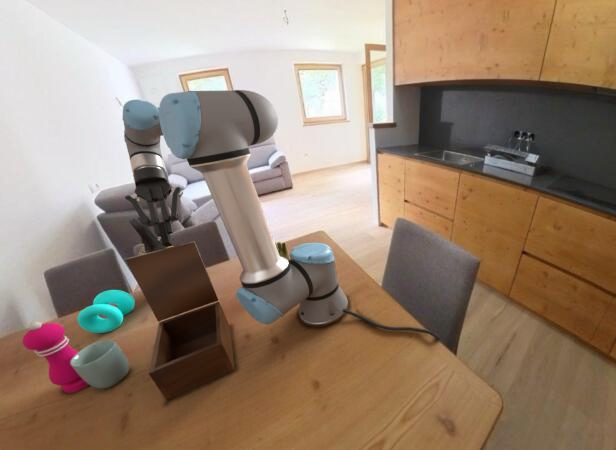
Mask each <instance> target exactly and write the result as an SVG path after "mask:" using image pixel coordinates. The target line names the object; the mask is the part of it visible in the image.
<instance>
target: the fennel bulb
mask: <svg viewBox="0 0 616 450" xmlns="http://www.w3.org/2000/svg"><path fill="white" fill-rule="evenodd" d="M274 242H275V244H276V247H277V250H278V253H279V255H280V257H283V258H286V259H287V260H290V259H291V258H290V254H289V252H288V249H287V245H286V242H285V241H282V242H281V241H278V242H276V241H274Z"/></svg>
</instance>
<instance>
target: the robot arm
mask: <svg viewBox="0 0 616 450" xmlns="http://www.w3.org/2000/svg"><path fill="white" fill-rule="evenodd" d="M122 121H123V126H124V130H123V137H124V142H125V145H126V149H127V153H128V157H129V162H130V167H131V172H132V176H133V181H134V185H135V189H134V193H132V194H131V195H125V196H124V199H125V200H126V201H127V202H128V203H129V204H131V205H132V207H133V209H134V210H135V211H136V213H137V215H138V217H139V218H141V220H142V221H143V223H145V224H146V225H147V226H148V227H149V228H150V227H153V230H154V231H153V232H154V234H155V236H156V237H157V238H160V239H161V240H162V244H163V245H164V246H165V247H169V246H173V245H174V244H173V241H172V237H171V235H172V234H174V232H175V230H174V227H173V223H174V222H178V221H179V220H180V211H181V198H182V196H183V194H184V191H183V189H182V188H181V187H180V186H177V187H175V186H172V184H170V181H169V176H168V173H167V168H166V165H165V161H164V157H163V154H162V149H161V137H162V136H163V139H164V142H165V144H166V145H167V148H168V149H169V150H170V152H171V154H172V155H173V156H174V157H176V158H177V159H182V160H186V161H187V164H188V166H189V168H191V169H193V170H196V171H198V172H200V173H201V174H202V176H203V179H204V181H205V183H206V186H207V188H208V190H209V193H210V195H211V197H212V200H213V203H214V204H215V207H216V209H217V211H218V214H219V216H220V218H221V221H222V224H223V225H224V228H225V230H226V232H227V234H228V237H229V239H230V242H231V244H232V246H233V248H234V251H235V253H236V256H237V258H238V260H239V263H240V265H241V268H242V271H241V273H240V275H239V281H240V283H241V286H240V287H239V288H238V289H237V290H236V291H235V294H236V295H235V297H236V299H237V300H238V302H239V303H240V305H241V306H242V308H243V309H244V310H245V311H246V312H247V313H248V314H249V315H250V316H251V317H252V318H253V319H254V320H256V321H257V322H258V323H261V324H263V325H271V324H273V323H274V322H276V321H277V320H278V319H280V318H283V317H284V316H285V315H286V314H287V313H289V312H290V311H291V310H293V309H294V308H295V307H297V306H298V314H299V318H300V321H301V322H302V323H303V324H304V325H307V326H309V327H313V328H321V327H327V326H330V325H333V324H334V323H337V322H338V321H339V320H341V319H342V318H343V317H344V315H346V314H348V315H350V316H352V317H356V318H357V319H359V320H362V321H364V322H366V323H368V324H370V325H371V326H374V327H376V328H380V329H383V330H387V331H411V332H417V333H423V334H428V335H430V336H432V337H433V338H435V339H436V340H437V341H441V340H442V338H441V337H440V336H439V335H438V334H437V333H435V332H434V331H432V330H429V329H424V328H420V327H414V326H413V327H412V326H387V325H383V324H380V323H377V322H376V321H373V320H371V319H369V318H367V317H365V316H363V315H361V314H358V313H356V312H354V311H351V310H349V302H348V301H349V300H348V297H347V295H346V293H345V292H344V291H343V289H342V287H341V286H340V284H339V278H338V273H337V266H336V258H335V255H334V253H333V252H334V251H333V249H332V248H331V247H330V246H329V245H328V244H326V243H323V242H306V243H301V244H299V245H297V246H294V247H293V248H292V249H291V250H290V252H289V259H290V260H287V259H286V258H283V257H280V255H279V253H278V250H279V249H278V250H277V247H278V246H277V247H276V244H277V243H276V244H275V242H276V241H275V239H274V236H273V234H272V231H271V228H270V225H269V222H268V220H267V217H266V215H265V212H264V209H263V207H262V203H261V201H260V198H259V195H258V192H257V189H256V187H255V184H254V182H253V179H252V176H251V173H250V170H249V167H248V161H249V159H250V157H251V156H252V154H251V151H250V149H249V147H251V146H255V145H259V144H261V143H264V142H266V141H268V140H269V139H271V138H272V137H273V136H274V135H275V133H276V132H277V129H278V125H279V118H278V113H277V111H276V108H275V107H274V104H272V103H271V102H270V100H269V99H267V97H265V96H263V95H262V94H260V93H258V92H255V91H252V90H245V89H233V90H186V91H178V92H170V93H167V94H165V95H164V96H163V97H162V98H161V100H160V102H159V107H158V106H156V105H155V104H154V103H152V102H149V101H147V100H146V101H144V100H141V99H131V100H128V101H126V102H125V103H124V105H123V107H122ZM171 194H172V197H171V207H170V209H171V210H169V205H168V198H169V196H170V195H171ZM140 199H142V200H143V201H145V202H146V204H147V207H148V212H149V216H148V215H147V213H146V211H145V210H144V208H143V207H142V205H141V204H140V203H139V202H140ZM157 202H158V203H159V207H160V211H161V215H162V220H163V221H161V219H160V215H159V211H158V207H157ZM149 217H150V218H149ZM172 244H173V245H172Z"/></svg>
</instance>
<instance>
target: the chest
mask: <svg viewBox="0 0 616 450" xmlns="http://www.w3.org/2000/svg"><path fill="white" fill-rule="evenodd" d="M234 361H235V360H234V351H233V341H232V333H231V326H230V323H229V321H228V319H227V316H226V314H225V312H224V309H223V307H222V304H221V303H220V301H216V302H213V303H210V304H207V305H204V306H201V307H199V308H196V309H193V310H190V311H187V312H184V313H181V314H179V315H176V316H173V317H170V318H167V319H164V320H161V321H158V326H157V331H156V336H155V341H154V344H153V350H152V355H151V360H150V364H149V369H148V375H149V377H150V378H151V380H152V381H153V383H154V384H155V385H156V387H157V388H158V390H159V391H160V393H161V395H162V396H163V397H164V399H165V400H166V402H170V401H172V400H174V399H176V398H179V397H181V396H183V395H185V394H187V393H189V392H192V391H194V390H195V389H198V388H200V387H203V386H205V385H207V384H210V383H211V382H213V381H216V380H217V379H219V378H221V377H224V376H226V375H228V374H230V373H233V372H235V362H234Z"/></svg>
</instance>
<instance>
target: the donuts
mask: <svg viewBox="0 0 616 450" xmlns="http://www.w3.org/2000/svg"><path fill="white" fill-rule="evenodd" d="M111 304H114V305H111ZM115 305H116V306H115ZM135 306H136V300H135V298H134V297H133V295H131V294H130V293H129V292H127V291H124V290H122V289H121V290H120V289H108V290H105V291H102V292H100V293H98V294H97V295H96V296H95V298H94V299H93V301H92V305H89V306H87V307H84V308H83V309H82V310H81V311H80V312H79V313H78V315H77V323H78V325H79V326H80V327H81V328H82V329H83V330H85V331H88V332H91V333H94V334H105V333H110V332H112V331H115V330H117V329H118V328H119V327H120V326H121V325H122V323H123V321H124V316H126V315H128V314H129V313H131V312H132V311H133V310H134V308H135ZM100 316H104V317H106V318H103V317H100Z"/></svg>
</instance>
